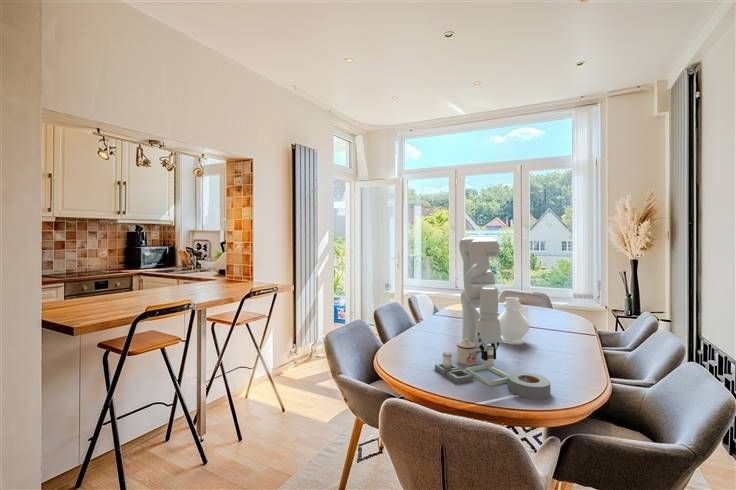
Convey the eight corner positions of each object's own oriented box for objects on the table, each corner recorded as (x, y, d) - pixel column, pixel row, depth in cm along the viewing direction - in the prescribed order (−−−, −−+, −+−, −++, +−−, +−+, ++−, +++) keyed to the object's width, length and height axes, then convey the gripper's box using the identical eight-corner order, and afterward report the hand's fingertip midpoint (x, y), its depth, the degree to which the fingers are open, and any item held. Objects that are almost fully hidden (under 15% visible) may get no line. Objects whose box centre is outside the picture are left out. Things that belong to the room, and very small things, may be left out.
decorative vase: (513, 335, 219) (513, 294, 218) (536, 343, 202) (536, 299, 201) (489, 338, 212) (489, 296, 212) (511, 347, 196) (511, 301, 195)
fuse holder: (432, 371, 162) (432, 364, 162) (450, 368, 166) (450, 361, 166) (455, 386, 145) (455, 379, 145) (476, 382, 149) (476, 375, 149)
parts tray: (487, 369, 163) (487, 364, 163) (513, 383, 149) (513, 377, 149) (465, 373, 159) (465, 367, 159) (490, 387, 144) (490, 381, 144)
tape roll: (518, 380, 152) (518, 368, 152) (556, 391, 141) (556, 378, 141) (500, 391, 141) (500, 378, 141) (540, 404, 130) (541, 390, 130)
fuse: (448, 369, 162) (448, 351, 162) (453, 372, 159) (453, 354, 158) (440, 370, 161) (440, 352, 161) (445, 373, 157) (446, 355, 157)
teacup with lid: (468, 368, 166) (469, 342, 165) (452, 362, 173) (452, 338, 172) (483, 362, 173) (483, 338, 173) (467, 357, 180) (467, 334, 180)
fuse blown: (489, 363, 156) (489, 344, 156) (495, 366, 152) (495, 347, 152) (481, 364, 154) (481, 345, 154) (488, 367, 151) (488, 348, 151)
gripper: (498, 313, 160) (498, 354, 160) (467, 316, 153) (466, 358, 154) (510, 316, 153) (510, 359, 153) (478, 319, 146) (478, 364, 147)
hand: (488, 358), depth 153 cm, fingers closed on fuse blown, 3 cm apart
